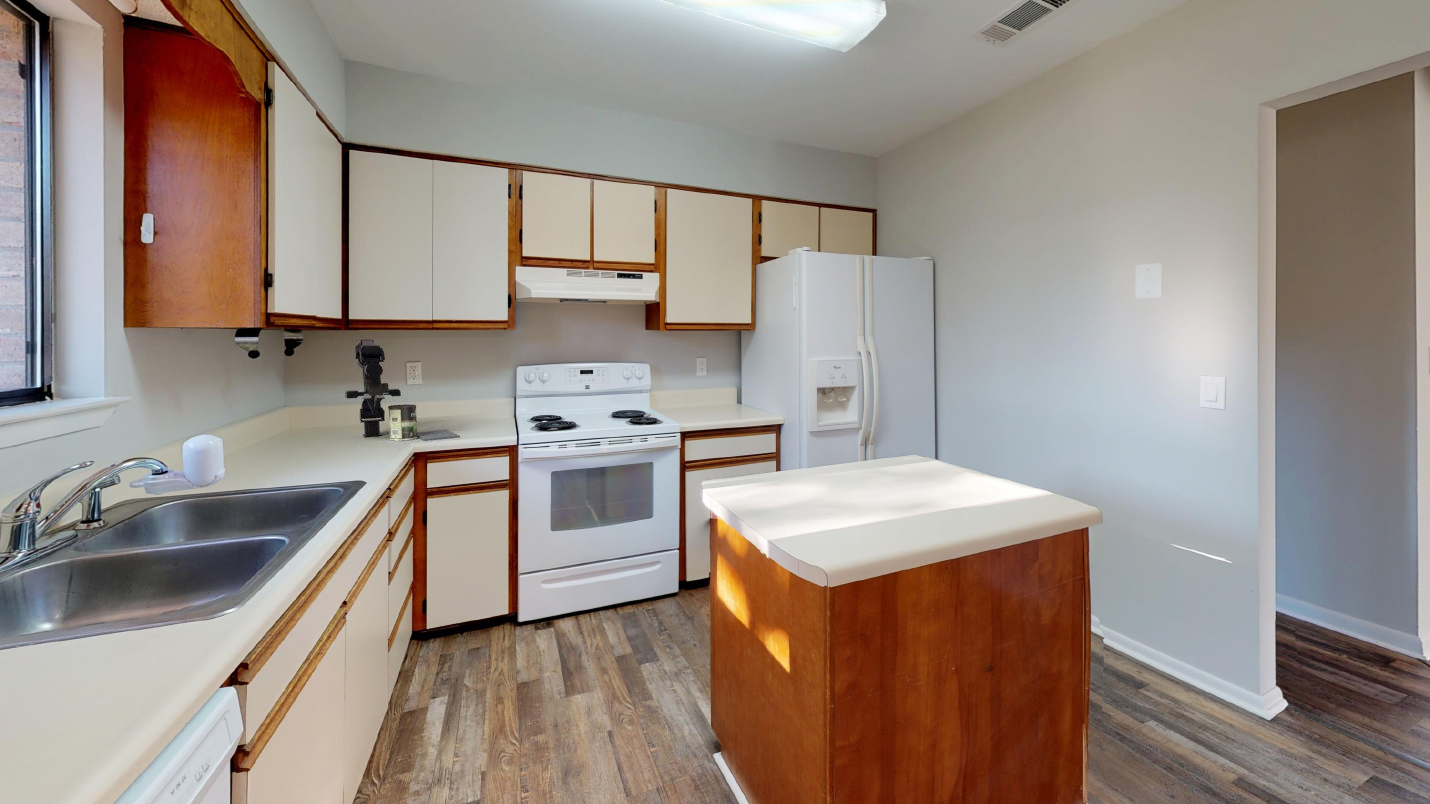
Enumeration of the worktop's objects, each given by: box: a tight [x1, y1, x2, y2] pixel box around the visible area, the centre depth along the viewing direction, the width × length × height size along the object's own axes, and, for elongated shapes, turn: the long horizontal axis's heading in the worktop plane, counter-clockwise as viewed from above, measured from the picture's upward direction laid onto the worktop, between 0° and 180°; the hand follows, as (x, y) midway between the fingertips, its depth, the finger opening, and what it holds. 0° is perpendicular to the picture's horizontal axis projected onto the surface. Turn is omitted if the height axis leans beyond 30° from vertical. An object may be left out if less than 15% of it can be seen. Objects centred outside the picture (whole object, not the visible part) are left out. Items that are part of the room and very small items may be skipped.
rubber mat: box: [417, 429, 461, 441], centre depth 243 cm, size 20×14×1 cm
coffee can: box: [387, 403, 418, 442], centre depth 235 cm, size 10×10×14 cm
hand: (374, 414), depth 228 cm, fingers closed
